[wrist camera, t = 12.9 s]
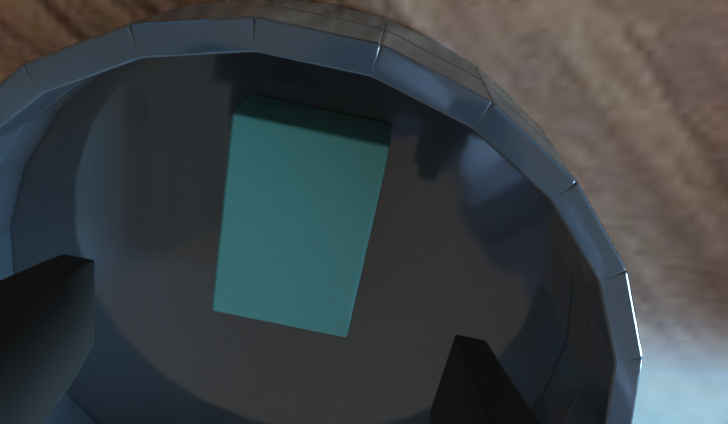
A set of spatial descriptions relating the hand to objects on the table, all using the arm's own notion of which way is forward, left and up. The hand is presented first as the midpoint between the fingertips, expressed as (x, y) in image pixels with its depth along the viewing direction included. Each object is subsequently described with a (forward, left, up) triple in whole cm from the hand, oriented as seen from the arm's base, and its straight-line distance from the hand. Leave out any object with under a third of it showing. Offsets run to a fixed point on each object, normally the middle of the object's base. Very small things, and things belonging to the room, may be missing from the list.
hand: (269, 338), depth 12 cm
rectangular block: (0, 0, -7) cm, 7 cm away
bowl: (-4, 0, -7) cm, 8 cm away
